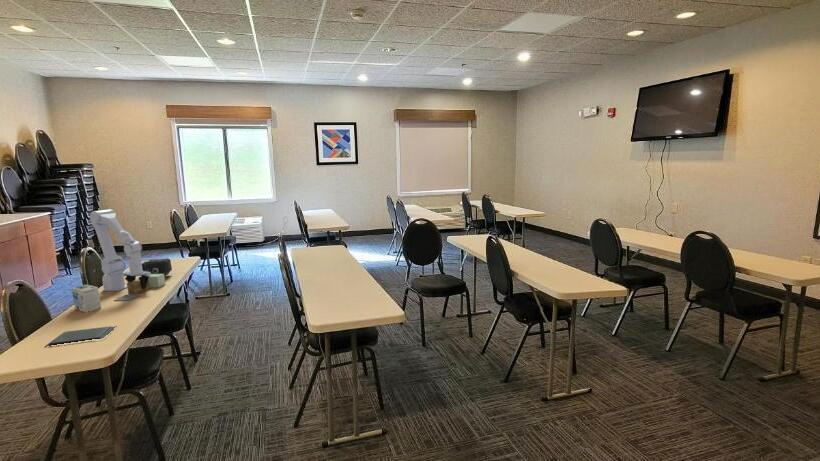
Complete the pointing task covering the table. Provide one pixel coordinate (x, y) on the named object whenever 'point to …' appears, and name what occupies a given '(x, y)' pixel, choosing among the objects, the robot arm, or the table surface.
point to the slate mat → (127, 298)
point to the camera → (157, 266)
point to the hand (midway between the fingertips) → (139, 288)
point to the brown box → (136, 287)
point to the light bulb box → (86, 298)
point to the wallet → (81, 335)
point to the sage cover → (156, 280)
